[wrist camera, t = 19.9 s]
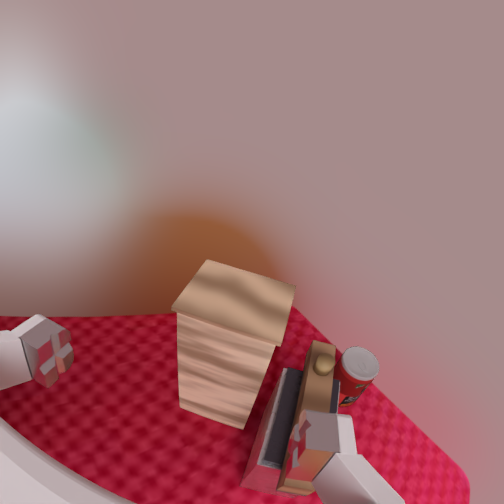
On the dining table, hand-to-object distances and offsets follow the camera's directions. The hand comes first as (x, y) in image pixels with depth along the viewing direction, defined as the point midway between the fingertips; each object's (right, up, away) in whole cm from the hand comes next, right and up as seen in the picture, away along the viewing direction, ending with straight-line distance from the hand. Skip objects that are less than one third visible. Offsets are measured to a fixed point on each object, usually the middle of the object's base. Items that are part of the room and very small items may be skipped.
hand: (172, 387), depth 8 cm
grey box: (+7, -30, +33) cm, 45 cm away
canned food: (+21, -25, +46) cm, 56 cm away
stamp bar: (+9, -17, +24) cm, 31 cm away
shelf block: (-4, -23, +41) cm, 47 cm away
